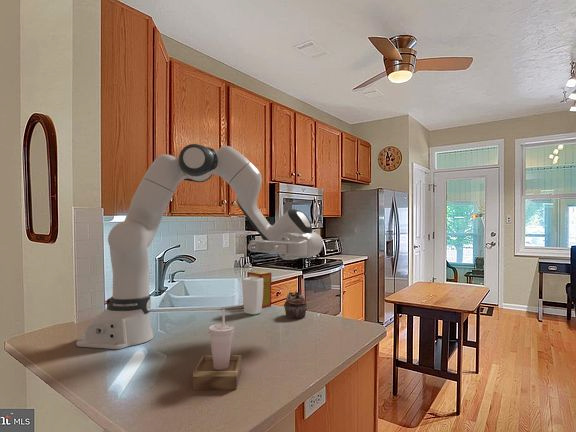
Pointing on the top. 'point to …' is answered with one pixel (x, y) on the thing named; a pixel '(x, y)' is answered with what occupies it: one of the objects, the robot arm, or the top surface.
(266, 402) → the top surface
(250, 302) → the cup
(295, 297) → the cupcake
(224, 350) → the smoothie
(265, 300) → the baking soda box
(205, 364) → the wooden tray
